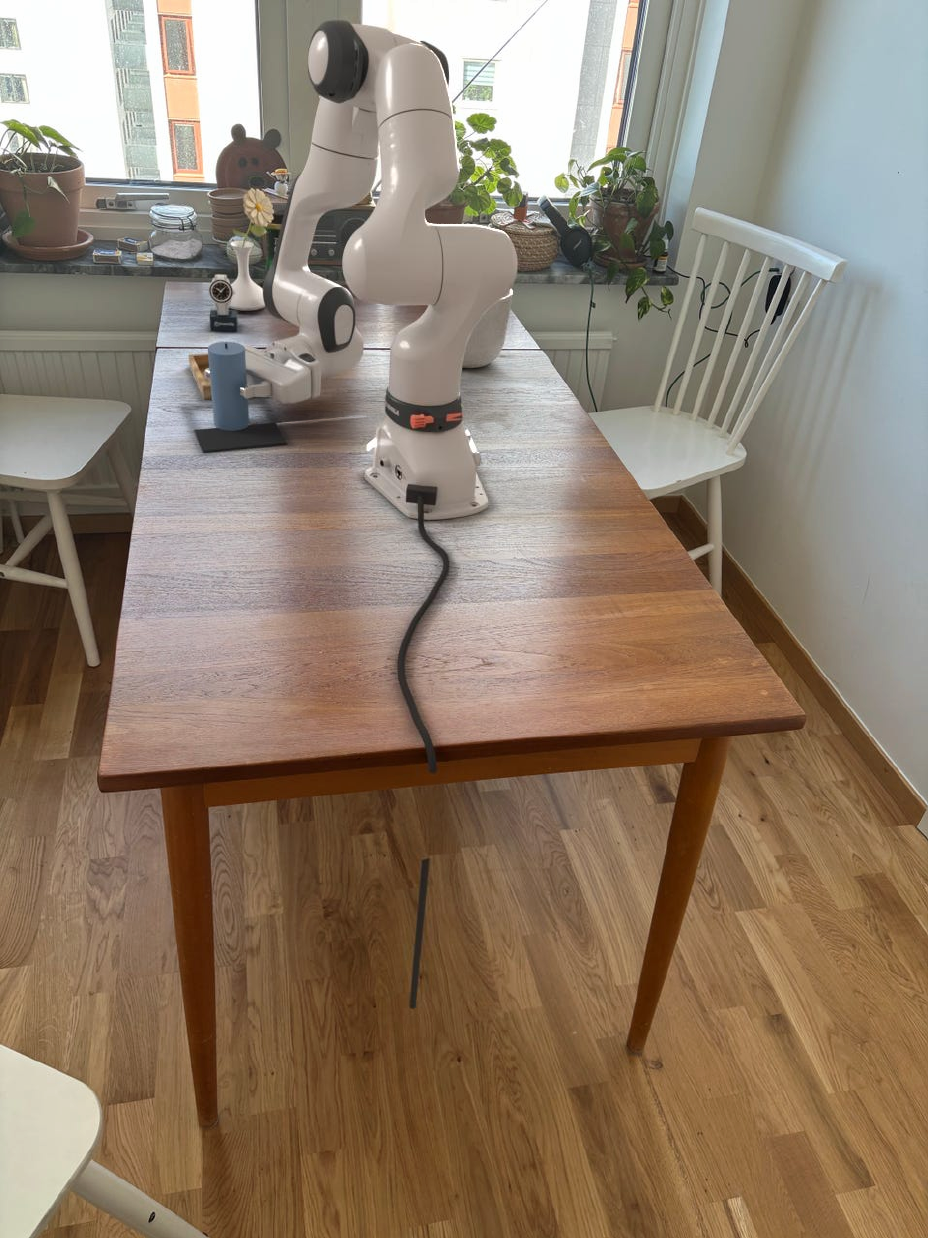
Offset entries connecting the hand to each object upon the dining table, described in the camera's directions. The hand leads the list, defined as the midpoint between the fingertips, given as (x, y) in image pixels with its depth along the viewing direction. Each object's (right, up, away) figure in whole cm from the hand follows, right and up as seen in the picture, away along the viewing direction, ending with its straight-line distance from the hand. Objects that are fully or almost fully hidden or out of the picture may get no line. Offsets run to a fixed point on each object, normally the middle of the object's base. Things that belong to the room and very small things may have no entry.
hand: (224, 384), depth 157 cm
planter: (+41, +15, +39) cm, 59 cm away
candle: (0, -6, +5) cm, 8 cm away
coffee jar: (-3, +42, +70) cm, 81 cm away
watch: (-11, +23, +43) cm, 50 cm away
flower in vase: (-9, +31, +55) cm, 64 cm away
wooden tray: (-4, +6, +20) cm, 22 cm away
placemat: (0, -6, +5) cm, 8 cm away
